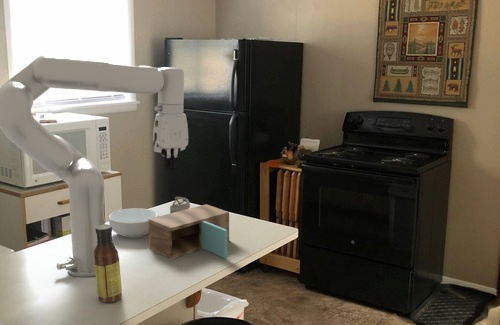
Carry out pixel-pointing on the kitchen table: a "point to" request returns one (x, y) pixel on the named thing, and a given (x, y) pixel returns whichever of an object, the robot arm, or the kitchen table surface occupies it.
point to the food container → (179, 204)
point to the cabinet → (183, 229)
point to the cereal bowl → (131, 221)
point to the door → (214, 239)
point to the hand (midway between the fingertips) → (169, 169)
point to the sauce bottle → (107, 266)
